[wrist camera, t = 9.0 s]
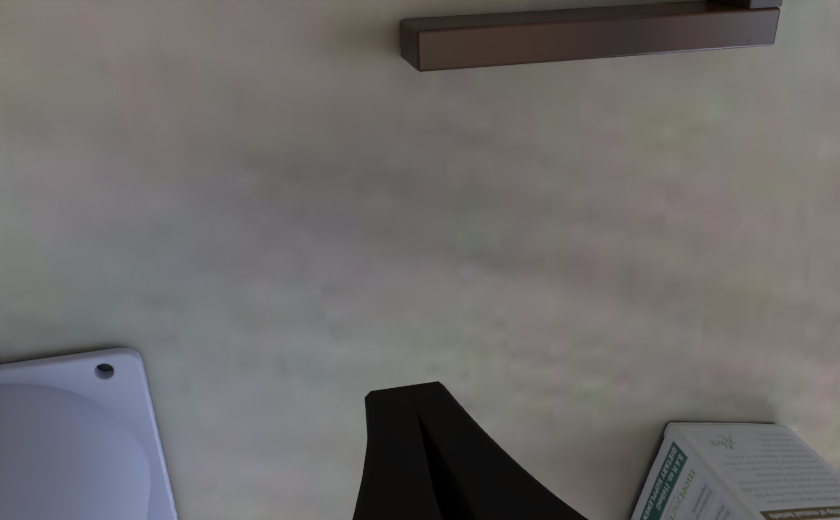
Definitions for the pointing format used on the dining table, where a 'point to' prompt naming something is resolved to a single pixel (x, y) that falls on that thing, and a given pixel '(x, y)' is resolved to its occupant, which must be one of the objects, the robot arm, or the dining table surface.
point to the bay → (586, 33)
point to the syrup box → (738, 476)
